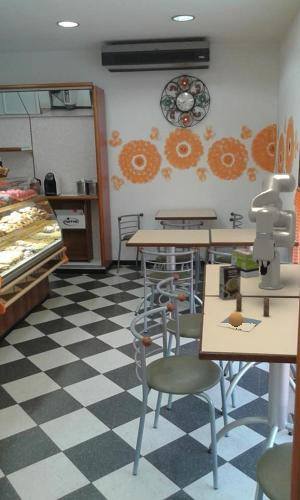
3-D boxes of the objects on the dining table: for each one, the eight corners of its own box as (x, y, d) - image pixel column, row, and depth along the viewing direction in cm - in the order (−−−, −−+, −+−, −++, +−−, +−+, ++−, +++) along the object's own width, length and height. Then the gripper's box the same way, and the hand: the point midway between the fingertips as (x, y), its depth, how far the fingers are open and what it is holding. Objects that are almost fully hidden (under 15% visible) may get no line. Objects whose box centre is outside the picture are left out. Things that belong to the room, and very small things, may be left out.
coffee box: (224, 300, 211) (224, 268, 207) (218, 296, 217) (218, 266, 213) (240, 298, 213) (241, 267, 210) (235, 294, 219) (235, 264, 216)
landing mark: (231, 315, 190) (231, 314, 190) (261, 321, 182) (261, 320, 182) (217, 325, 179) (217, 325, 179) (248, 332, 171) (248, 331, 171)
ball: (226, 327, 177) (232, 321, 181) (240, 330, 173) (245, 324, 178) (226, 314, 175) (232, 308, 180) (239, 316, 172) (245, 311, 176)
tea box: (230, 273, 261) (230, 249, 258) (243, 271, 266) (244, 247, 263) (245, 278, 248) (246, 254, 245) (259, 276, 252) (260, 252, 249)
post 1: (237, 309, 197) (237, 293, 195) (242, 310, 195) (242, 294, 194) (235, 311, 195) (235, 294, 193) (240, 312, 193) (240, 295, 192)
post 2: (264, 314, 189) (264, 297, 188) (269, 315, 188) (270, 298, 186) (262, 316, 187) (262, 299, 186) (267, 317, 186) (268, 299, 184)
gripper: (283, 235, 194) (282, 274, 197) (252, 233, 202) (251, 270, 206) (277, 238, 188) (276, 278, 191) (245, 236, 196) (245, 274, 200)
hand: (263, 274), depth 199 cm, fingers closed
